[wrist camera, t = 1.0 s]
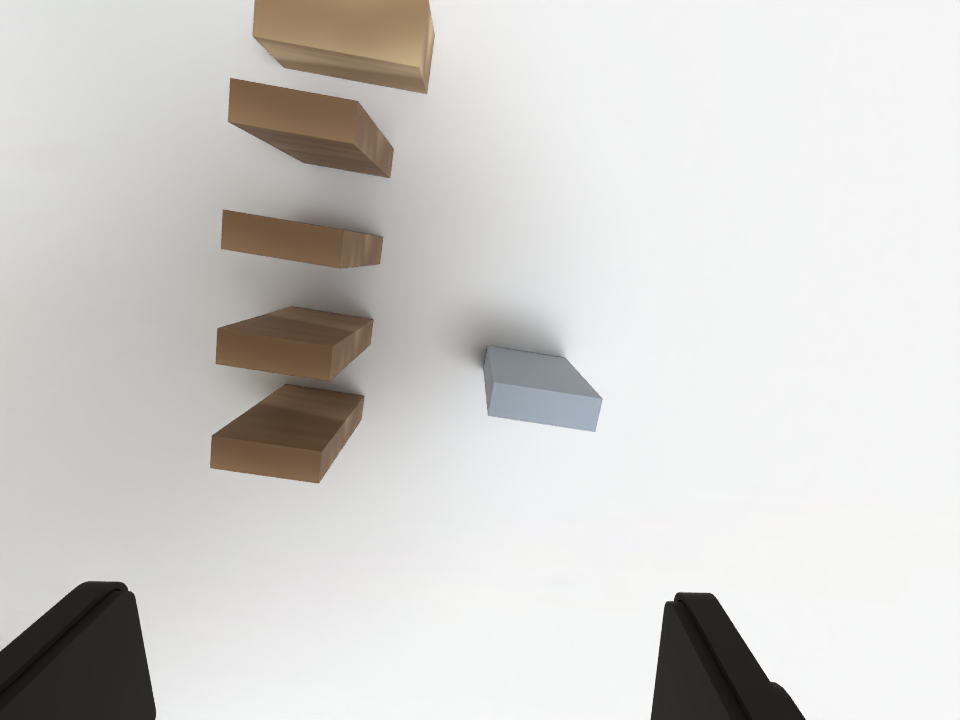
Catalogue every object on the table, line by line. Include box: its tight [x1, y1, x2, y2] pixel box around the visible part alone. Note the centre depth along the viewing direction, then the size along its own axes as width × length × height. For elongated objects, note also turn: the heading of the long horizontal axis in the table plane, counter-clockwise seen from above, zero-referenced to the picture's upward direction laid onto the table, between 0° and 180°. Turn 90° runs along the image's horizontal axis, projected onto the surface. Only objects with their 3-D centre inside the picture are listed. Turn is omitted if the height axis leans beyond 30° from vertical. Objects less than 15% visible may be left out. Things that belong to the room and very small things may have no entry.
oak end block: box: [253, 0, 435, 94], centre depth 25 cm, size 3×8×4 cm, turn 80°
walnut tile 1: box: [210, 384, 364, 483], centre depth 27 cm, size 2×5×9 cm, turn 80°
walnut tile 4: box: [228, 78, 394, 178], centre depth 24 cm, size 2×5×9 cm, turn 80°
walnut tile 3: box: [221, 210, 383, 268], centre depth 25 cm, size 2×5×9 cm, turn 81°
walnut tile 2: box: [216, 306, 373, 381], centre depth 26 cm, size 2×5×9 cm, turn 80°
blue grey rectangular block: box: [484, 346, 602, 432], centre depth 27 cm, size 2×5×9 cm, turn 80°
